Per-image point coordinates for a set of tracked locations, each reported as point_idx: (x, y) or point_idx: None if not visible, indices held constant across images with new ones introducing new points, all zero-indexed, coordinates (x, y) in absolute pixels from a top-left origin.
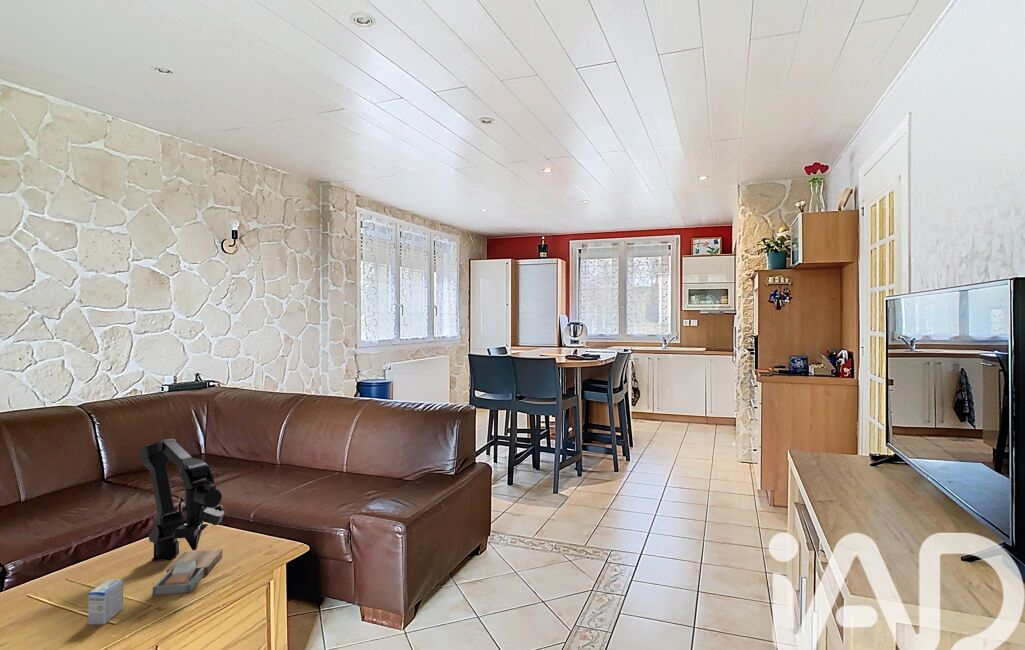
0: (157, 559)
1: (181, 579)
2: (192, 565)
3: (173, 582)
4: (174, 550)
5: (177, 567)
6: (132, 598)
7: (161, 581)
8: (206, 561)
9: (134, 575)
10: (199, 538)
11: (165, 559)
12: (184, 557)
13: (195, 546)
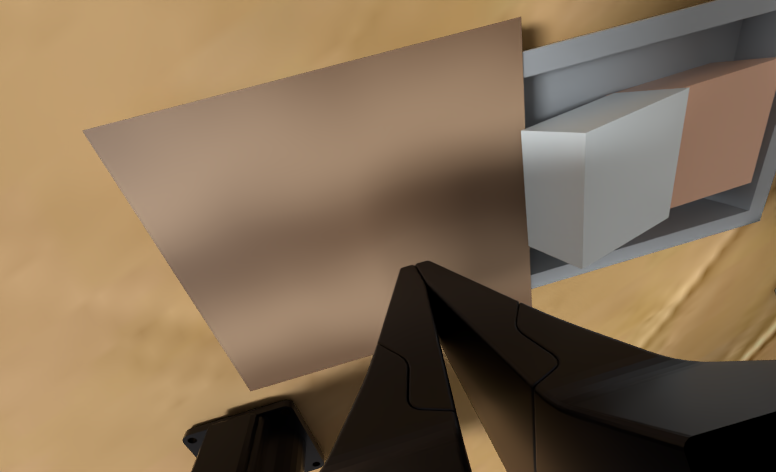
0: (315, 447)
1: (743, 96)
2: (632, 116)
3: (760, 130)
4: (249, 448)
5: (632, 224)
6: (700, 273)
7: (690, 227)
8: (396, 115)
9: (471, 414)
10: (391, 337)
11: (302, 421)
12: (339, 332)
13: (456, 277)
